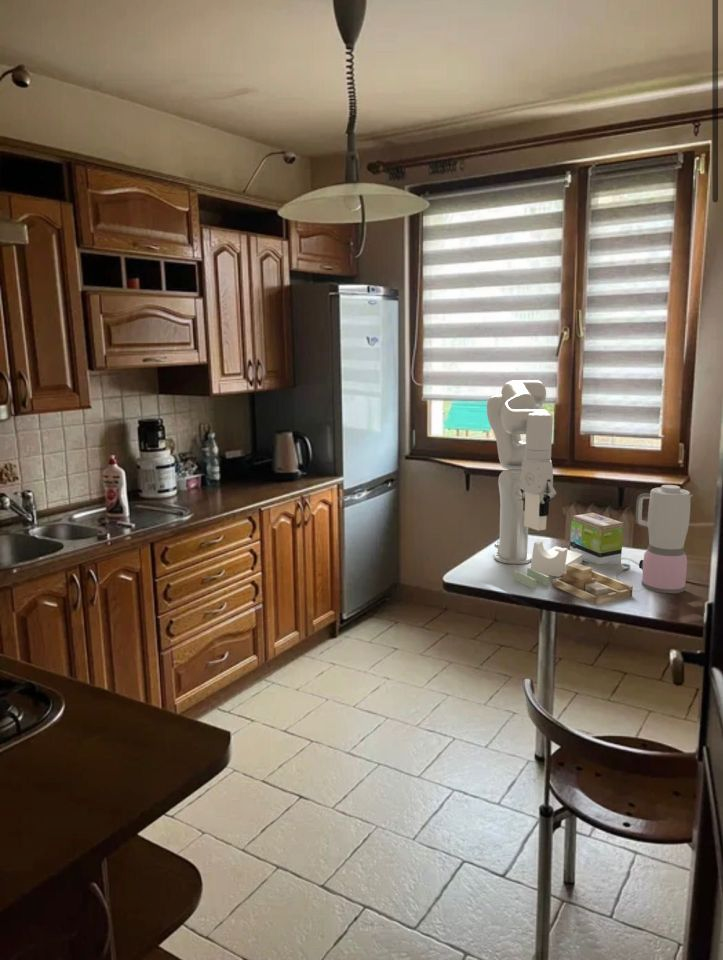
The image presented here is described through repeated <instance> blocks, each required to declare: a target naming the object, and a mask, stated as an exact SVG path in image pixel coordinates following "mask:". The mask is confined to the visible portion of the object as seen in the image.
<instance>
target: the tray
mask: <svg viewBox="0 0 723 960" xmlns="http://www.w3.org/2000/svg"><path fill="white" fill-rule="evenodd" d="M591 578H593V579H595V583H599V584H601V585H603V586H605V587H607V588H608V594H604V595H600V596H595V595H592V594H590V593H588V592H586V591H583V590H581V589H579V588H576V587H574V586H572V585H569V584H567V583H565V582H562V576H560V577H556V578H552V586H553V587H555V588H558V589H560V590H562V591H565V592H567V593H569V594H571V595H573V596H576V597H577V598H579V599H582V600H585V601H586V602H589V603H591V604H593V605H601V604H604V603H609V602H613V601H614V602H615V601H618V600H622V599H623V600H624V599H626V598H630V597H633V588H634V587H633V585H630V584H628V583H626V582H624V581H623V582H622V581H620V580H618V579H615V578H612V577H610V576H608V575H604V574H602V573H599V572H597V571H595V570H592V575H591Z"/></svg>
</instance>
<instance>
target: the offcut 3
mask: <svg viewBox="0 0 723 960" xmlns="http://www.w3.org/2000/svg"><path fill="white" fill-rule="evenodd" d="M585 591H586V592H588V593H590V594H592V595H595V596H600V595H604V594H608V588H607V587H605V586H603V585H601V584H599V583H591V584H586V586H585Z"/></svg>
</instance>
